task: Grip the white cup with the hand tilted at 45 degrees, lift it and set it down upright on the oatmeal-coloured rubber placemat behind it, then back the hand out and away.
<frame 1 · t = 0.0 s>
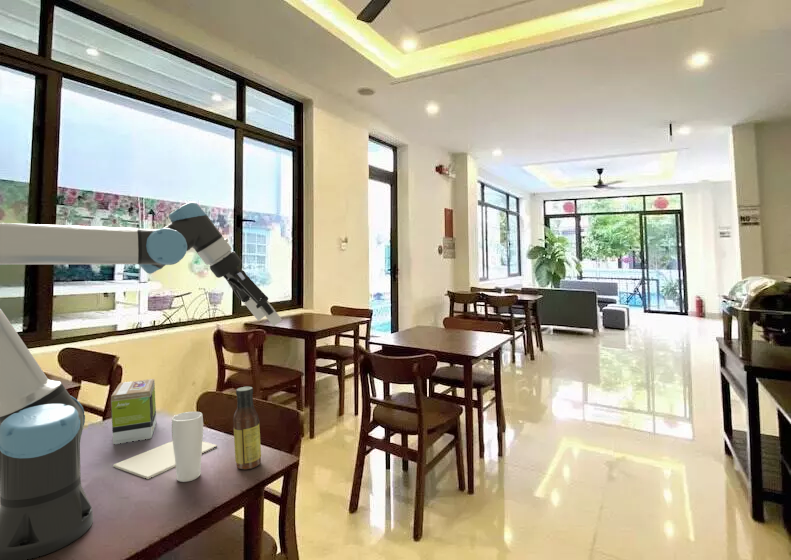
hand: (269, 320, 116), 36 cm above the table, tool tilted 35°, fingers open, 13 cm apart
tea box: (135, 433, 129), on the table
white cup: (188, 478, 101), on the table
placemat: (168, 456, 113), on the table
sauce bottle: (247, 465, 107), on the table
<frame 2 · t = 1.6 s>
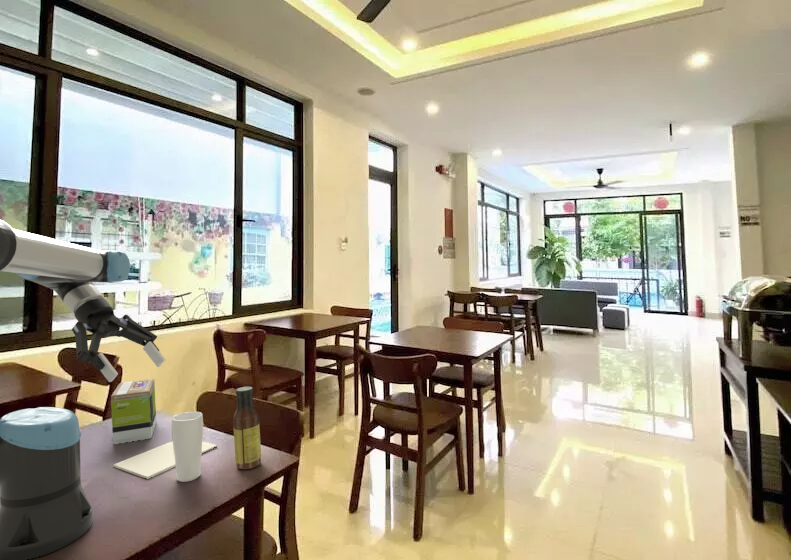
hand: (139, 370, 103), 26 cm above the table, tool tilted 45°, fingers open, 13 cm apart
nothing on the table moved.
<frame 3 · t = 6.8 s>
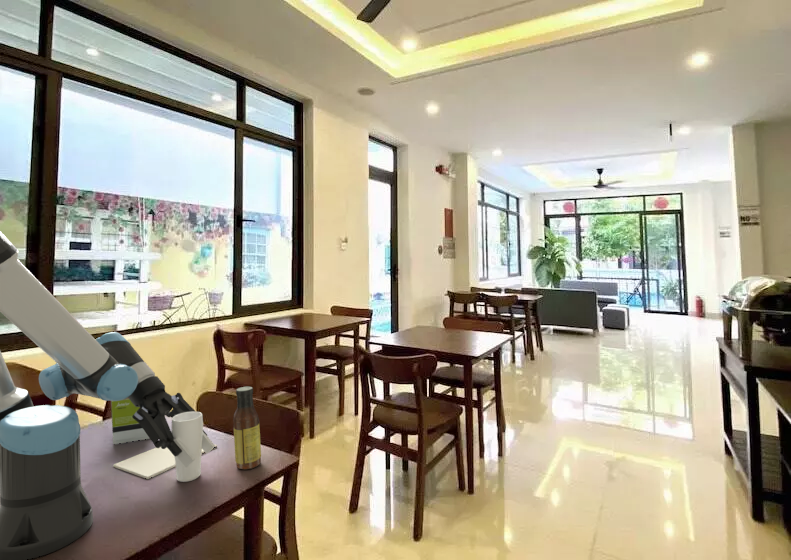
hand: (201, 456, 100), 5 cm above the table, tool tilted 45°, fingers closed on white cup, 7 cm apart
white cup: (188, 478, 101), on the table, touching gripper
everything else where it was.
when the fingers open (8 cm above the table, at t = 12.1 s): white cup drops 2 cm, resting on placemat.
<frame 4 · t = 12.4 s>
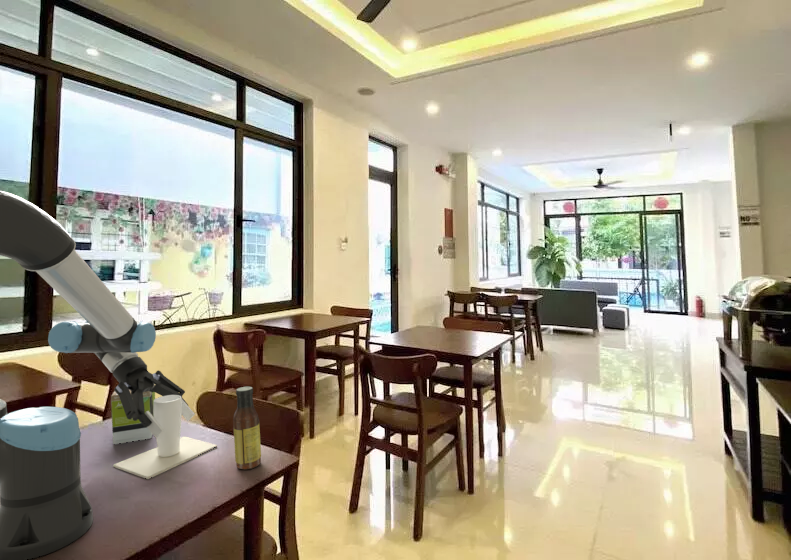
hand: (176, 425, 112), 9 cm above the table, tool tilted 45°, fingers open, 11 cm apart
white cup: (168, 454, 113), resting on placemat
everything else where it was.
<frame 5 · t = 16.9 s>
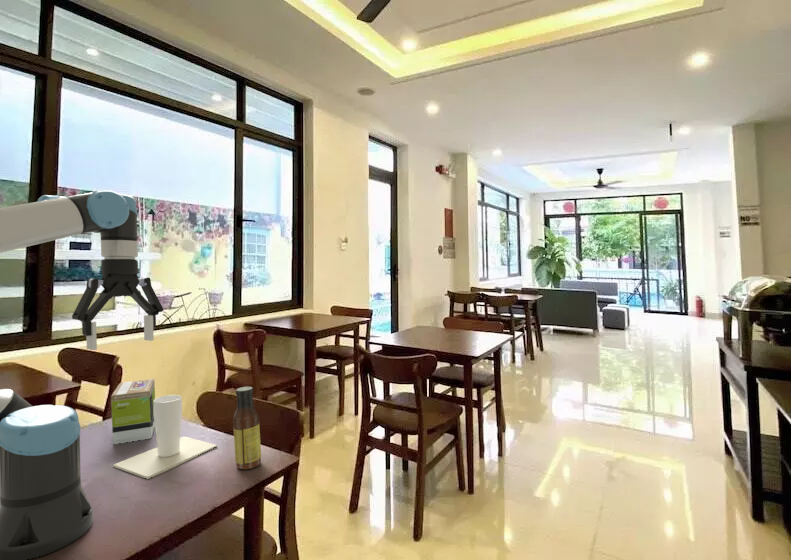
hand: (122, 344, 104), 32 cm above the table, tool pointing down, fingers open, 13 cm apart
nothing on the table moved.
at the end: white cup inside the target area (0.3 cm from its centre), resting on placemat; white cup tilted 0°; the gripper is holding nothing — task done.
